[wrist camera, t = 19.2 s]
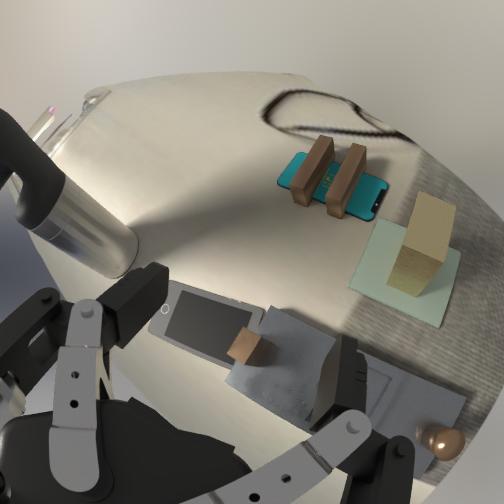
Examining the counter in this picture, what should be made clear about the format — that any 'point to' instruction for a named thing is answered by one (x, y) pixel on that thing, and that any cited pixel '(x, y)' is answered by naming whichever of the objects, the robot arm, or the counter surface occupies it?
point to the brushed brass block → (423, 244)
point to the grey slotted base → (307, 379)
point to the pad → (379, 268)
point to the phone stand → (316, 169)
